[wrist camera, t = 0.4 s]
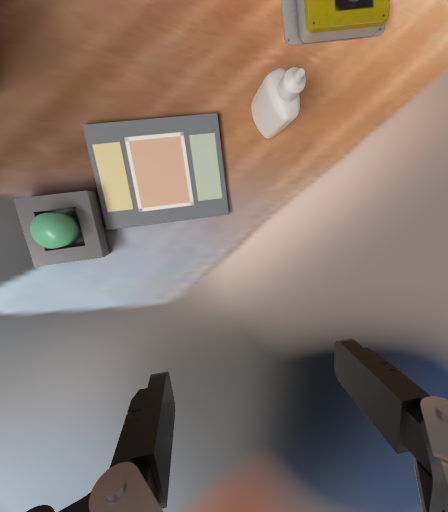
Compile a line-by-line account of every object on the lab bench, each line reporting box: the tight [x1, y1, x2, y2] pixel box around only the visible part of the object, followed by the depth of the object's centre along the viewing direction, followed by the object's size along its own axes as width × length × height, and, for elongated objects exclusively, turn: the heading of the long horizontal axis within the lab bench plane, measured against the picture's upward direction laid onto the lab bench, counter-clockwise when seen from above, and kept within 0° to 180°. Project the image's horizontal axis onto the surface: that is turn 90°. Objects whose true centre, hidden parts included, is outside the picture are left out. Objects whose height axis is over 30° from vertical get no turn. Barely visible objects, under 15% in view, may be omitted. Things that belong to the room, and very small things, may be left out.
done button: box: [30, 212, 80, 249], centre depth 30 cm, size 4×4×3 cm
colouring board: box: [82, 113, 229, 230], centre depth 33 cm, size 14×18×1 cm
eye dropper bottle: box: [251, 67, 306, 138], centre depth 28 cm, size 4×6×12 cm
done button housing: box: [13, 191, 111, 267], centre depth 32 cm, size 9×9×3 cm
